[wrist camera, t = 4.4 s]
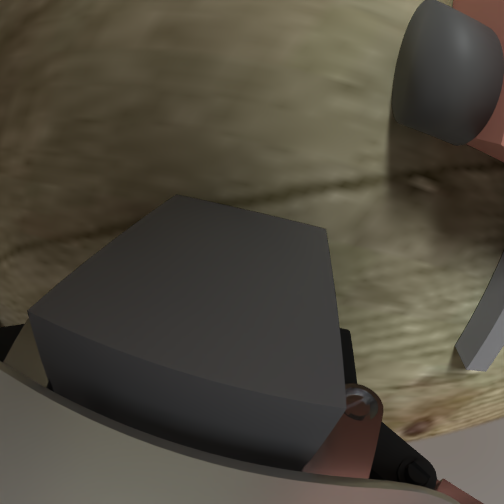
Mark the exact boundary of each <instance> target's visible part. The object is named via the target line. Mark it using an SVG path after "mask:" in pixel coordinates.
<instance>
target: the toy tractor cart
mask: <svg viewBox="0 0 504 504" xmlns="http://www.w3.org/2000/svg"><path fill="white" fill-rule="evenodd" d="M392 109H393V115H394V118H395V120H396V121H397V122H398V123H399V124H402V125H404V126H407V127H410V128H413V129H415V130H418V131H421V132H423V133H426V134H428V135H431V136H434V137H436V138H439V139H441V140H443V141H446V142H448V143H451V144H453V145H457V146H459V145H464V144H467V145H469V146H471V147H473V148H475V149H477V150H479V151H482V152H484V153H486V154H488V155H490V156H492V157H494V158H496V159H498V160H499V161H501V162H503V163H504V0H453V8H452V7H450V6H448V5H445V4H443V3H441V2H439V1H437V0H425V1H423V2H422V3H421V4H420V5H419V7H418V8H417V9H416V11H415V13H414V14H413V16H412V18H411V20H410V22H409V25H408V27H407V29H406V32H405V35H404V38H403V41H402V44H401V47H400V51H399V55H398V59H397V64H396V68H395V74H394V81H393V90H392ZM503 346H504V252H503V254H502V257H501V259H500V261H499V264H498V266H497V268H496V270H495V272H494V275H493V277H492V279H491V281H490V283H489V285H488V287H487V289H486V291H485V293H484V295H483V297H482V299H481V301H480V303H479V305H478V307H477V308H476V310H475V312H474V314H473V316H472V318H471V319H470V321H469V323H468V325H467V326H466V328H465V330H464V332H463V333H462V335H461V337H460V338H459V340H458V342H457V343H456V345H455V347H456V349H457V351H458V353H459V355H460V357H461V360H462V362H463V364H464V366H465V368H466V370H476V371H487V369H488V368H489V366H490V365H491V364H492V362H493V361H494V359H495V358H496V356H497V355H498V353H499V352H500V350H501V349H502V347H503Z"/></svg>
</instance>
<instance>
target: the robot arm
mask: <svg viewBox="0 0 504 504" xmlns="http://www.w3.org/2000/svg"><path fill="white" fill-rule="evenodd" d="M335 295H336V294H335ZM337 311H338V310H337ZM338 319H339V318H338ZM339 328H340V327H339ZM340 337H341V347H342V357H343V368H344V379H345V392H346V407H347V409H346V410H345V412H344V413H343V415H342V416H341V418H340V419H339V421H338V422H337V424H336V425H335V427H334V428H333V430H332V431H331V432H330V434H329V435H328V437H327V438H326V440H325V441H324V442H323V444H322V445H321V447H320V448H319V449H318V451H317V452H316V453H315V455H314V456H313V457H312V459H311V460H310V461H309V462H305V464H304V465H303V466H302V468H301V469H300V470H299V471H293V470H286V469H280V468H274V467H269V466H264V465H258V464H254V463H249V462H244V461H240V460H235V459H231V458H227V457H223V456H219V455H215V454H211V453H208V452H204V451H200V450H197V449H194V448H190V447H187V446H183V445H180V444H177V443H174V442H171V441H168V440H165V439H162V438H159V437H156V436H153V435H150V434H148V433H145V432H142V431H140V430H137V429H134V428H132V427H129V426H127V425H124V424H122V423H119V422H117V421H114V420H112V419H110V418H107V417H105V416H103V415H100V414H98V413H96V412H94V411H92V410H89V409H87V408H85V407H83V406H81V405H79V404H77V403H75V402H73V401H70V400H68V399H66V398H65V397H63V396H61V395H59V394H57V393H55V392H54V390H53V387H52V385H51V382H50V379H48V378H47V376H46V373H45V370H44V367H43V364H42V361H41V358H40V355H39V351H38V348H37V345H36V342H35V338H34V335H33V331H32V327H31V324H30V320H29V318H28V319H27V321H26V323H25V324H21V325H15V326H8V327H2V328H0V504H483V503H482V502H480V501H478V500H477V499H475V498H473V497H472V496H470V495H469V494H467V493H465V492H464V491H462V490H461V489H459V488H457V487H456V486H454V485H453V484H451V483H450V482H448V481H447V480H445V479H442V480H441V481H439V480H437V477H436V471H435V469H434V468H433V466H432V465H431V463H430V462H429V461H428V460H427V459H425V458H424V457H423V456H422V455H420V454H419V453H418V452H417V451H416V450H414V449H413V448H412V447H411V446H410V445H409V444H407V443H406V442H405V441H404V440H403V439H402V438H400V437H399V436H398V435H397V434H396V433H394V432H393V431H392V430H391V429H390V428H389V427H387V426H386V425H385V424H384V423H383V422H382V416H383V404H382V402H381V399H380V398H379V397H378V395H377V394H376V393H375V392H373V391H372V390H371V389H369V388H367V387H365V386H363V385H359V384H357V379H356V371H355V363H354V355H353V348H352V341H351V334H350V331H349V330H347V329H342V328H340Z"/></svg>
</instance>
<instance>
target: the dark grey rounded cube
mask: <svg viewBox="0 0 504 504" xmlns="http://www.w3.org/2000/svg"><path fill="white" fill-rule="evenodd" d="M27 312H28V316H29V320H30V324H31V327H32V331H33V335H34V338H35V342H36V345H37V348H38V351H39V355H40V358H41V361H42V364H43V367H44V370H45V373H46V376H47V378H48V379H50V382H51V385H52V387H53V390H54V392H55V393H57V394H59V395H61V396H63V397H65V398H66V399H68V400H70V401H73V402H75V403H77V404H79V405H81V406H83V407H85V408H87V409H89V410H92V411H94V412H96V413H98V414H100V415H103V416H105V417H107V418H110V419H112V420H114V421H117V422H119V423H122V424H124V425H127V426H129V427H132V428H134V429H137V430H140V431H142V432H145V433H148V434H150V435H153V436H156V437H159V438H162V439H165V440H168V441H171V442H174V443H177V444H180V445H183V446H187V447H190V448H194V449H197V450H200V451H204V452H208V453H211V454H215V455H219V456H223V457H227V458H231V459H235V460H240V461H244V462H249V463H254V464H258V465H264V466H269V467H274V468H280V469H286V470H293V471H299V470H300V469H301V468H302V466H303V465H304V464H305V462H309V461H310V460H311V459H312V457H313V456H314V455H315V453H316V452H317V451H318V449H319V448H320V447H321V445H322V444H323V442H324V441H325V440H326V438H327V437H328V435H329V434H330V432H331V431H332V430H333V428H334V427H335V425H336V424H337V422H338V421H339V419H340V418H341V416H342V415H343V413H344V412H345V410H346V409H347V407H346V392H345V379H344V368H343V357H342V347H341V337H340V328H339V319H338V311H337V302H336V295H335V287H334V280H333V273H332V266H331V259H330V252H329V246H328V240H327V233H326V229H324V228H320V227H316V226H312V225H308V224H304V223H300V222H296V221H292V220H288V219H284V218H280V217H275V216H271V215H267V214H263V213H258V212H254V211H250V210H245V209H241V208H236V207H232V206H228V205H223V204H219V203H214V202H209V201H205V200H200V199H195V198H191V197H186V196H181V195H175V196H173V197H172V198H170V199H169V200H167V201H166V202H165V203H163V204H162V205H160V206H159V207H157V208H156V209H155V210H153V211H152V212H150V213H149V214H148V215H146V216H145V217H143V218H142V219H141V220H139V221H138V222H137V223H135V224H134V225H132V226H131V227H130V228H128V229H127V230H126V231H124V232H123V233H122V234H120V235H119V236H118V237H116V238H115V239H114V240H112V241H111V242H110V243H108V244H107V245H106V246H105V247H103V248H102V249H101V250H99V251H98V252H97V253H96V254H94V255H93V256H92V257H91V258H89V259H88V260H87V261H85V262H84V263H83V264H82V265H80V266H79V267H78V268H77V269H76V270H74V271H73V272H72V273H71V274H69V275H68V276H67V277H66V278H65V279H63V280H62V281H61V282H60V283H59V284H57V285H56V286H55V287H54V288H53V289H52V290H50V291H49V292H48V293H47V294H46V295H45V296H43V297H42V298H41V299H40V300H39V301H38V302H36V303H35V304H34V305H33V306H32V307H31V308H30V309H29V310H27Z"/></svg>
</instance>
